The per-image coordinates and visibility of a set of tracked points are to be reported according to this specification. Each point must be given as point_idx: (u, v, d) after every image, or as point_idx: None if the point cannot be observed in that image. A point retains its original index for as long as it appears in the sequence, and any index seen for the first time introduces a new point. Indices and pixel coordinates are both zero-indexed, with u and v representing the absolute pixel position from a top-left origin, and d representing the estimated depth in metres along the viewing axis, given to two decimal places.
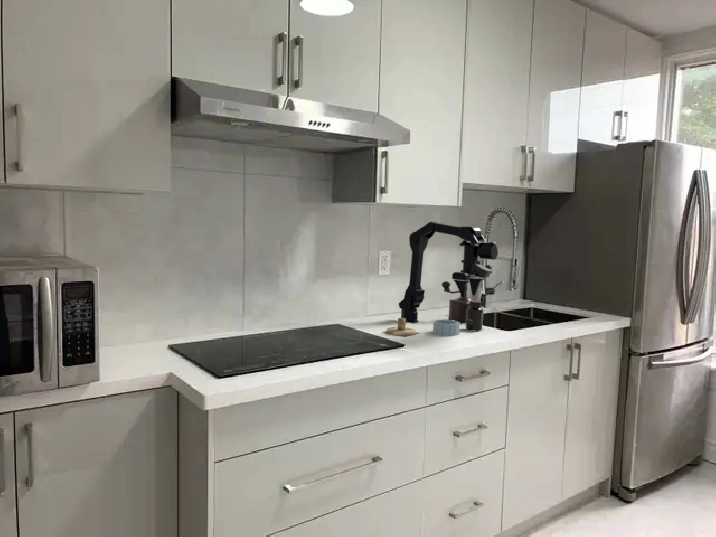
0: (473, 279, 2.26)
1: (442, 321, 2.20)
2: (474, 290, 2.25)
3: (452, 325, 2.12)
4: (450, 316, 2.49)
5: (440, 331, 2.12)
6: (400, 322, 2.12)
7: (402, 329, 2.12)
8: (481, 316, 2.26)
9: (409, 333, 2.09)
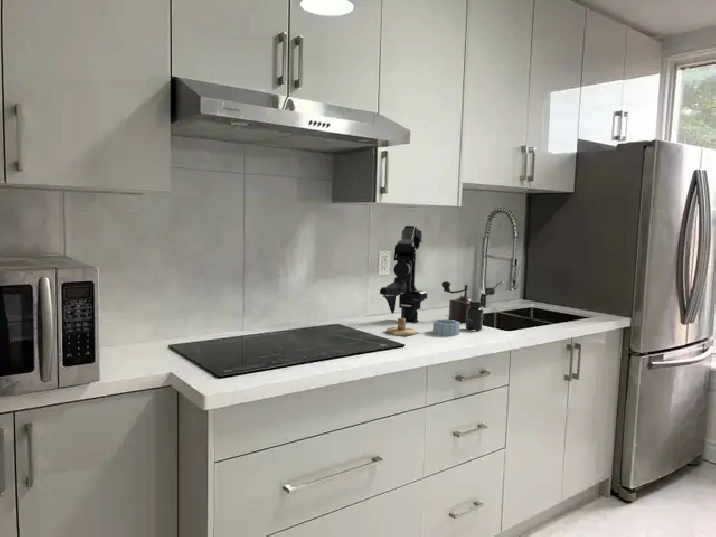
0: None
1: (442, 321, 2.20)
2: None
3: (452, 325, 2.12)
4: (450, 316, 2.49)
5: (440, 331, 2.12)
6: (400, 322, 2.12)
7: (402, 329, 2.12)
8: (481, 316, 2.26)
9: (409, 333, 2.09)
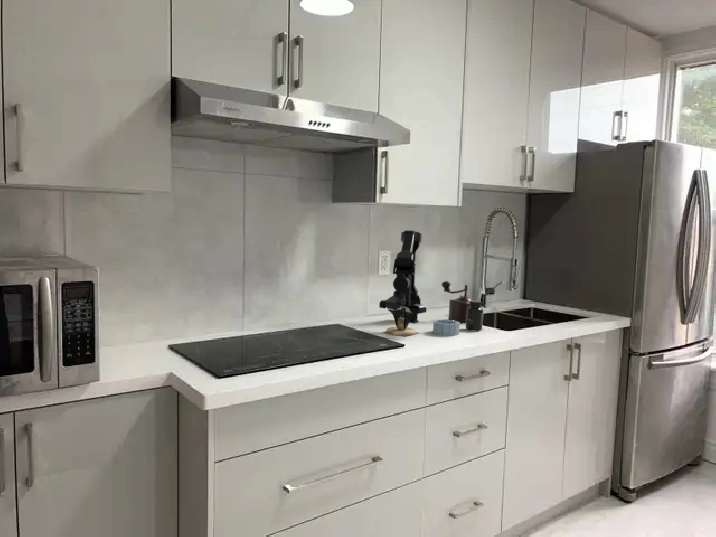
0: None
1: (442, 321, 2.20)
2: None
3: (452, 325, 2.12)
4: (450, 316, 2.49)
5: (440, 331, 2.12)
6: (400, 322, 2.12)
7: (402, 329, 2.12)
8: (481, 316, 2.26)
9: (409, 333, 2.09)
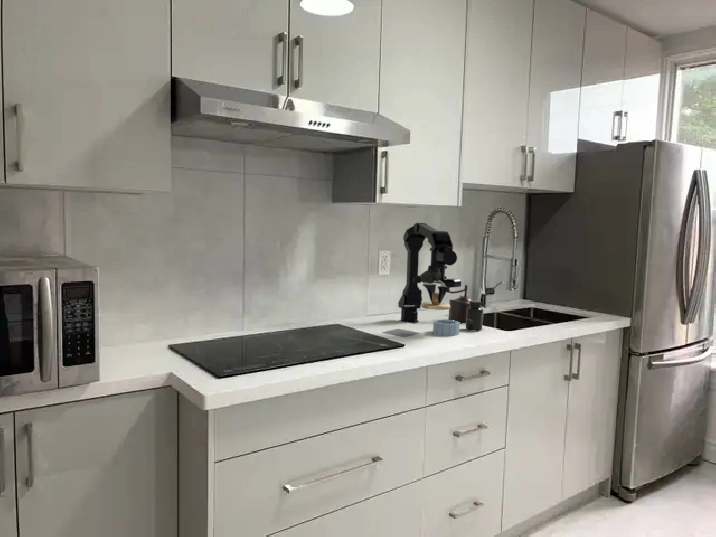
0: None
1: (442, 321, 2.20)
2: None
3: (452, 325, 2.12)
4: (450, 316, 2.49)
5: (440, 331, 2.12)
6: (434, 296, 2.13)
7: (436, 303, 2.13)
8: (481, 316, 2.26)
9: (444, 307, 2.10)
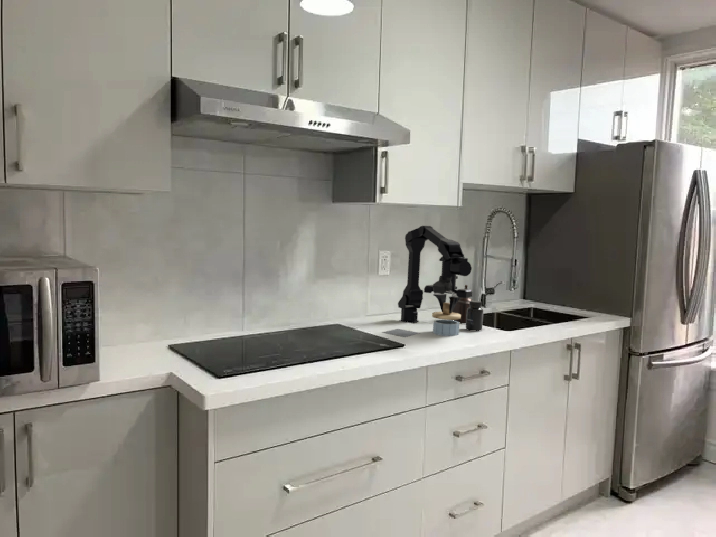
0: None
1: (442, 321, 2.20)
2: None
3: (452, 325, 2.12)
4: None
5: (440, 331, 2.12)
6: (445, 306, 2.14)
7: (447, 313, 2.14)
8: (481, 316, 2.26)
9: (455, 317, 2.11)
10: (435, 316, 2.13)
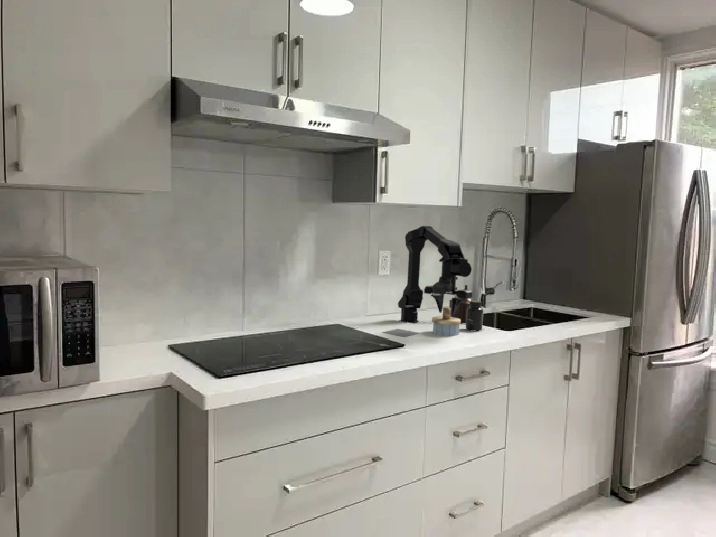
0: None
1: None
2: None
3: (452, 325, 2.12)
4: (450, 316, 2.49)
5: (440, 331, 2.12)
6: (445, 311, 2.14)
7: (447, 318, 2.15)
8: (481, 316, 2.26)
9: (455, 322, 2.11)
10: (435, 321, 2.13)
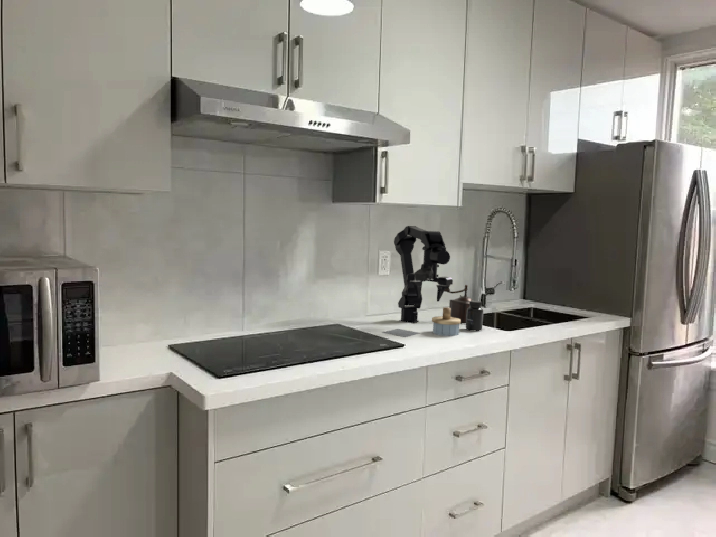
0: None
1: None
2: None
3: (452, 325, 2.12)
4: (450, 316, 2.49)
5: (440, 331, 2.12)
6: (445, 311, 2.14)
7: (447, 318, 2.15)
8: (481, 316, 2.26)
9: (455, 322, 2.11)
10: (435, 321, 2.13)
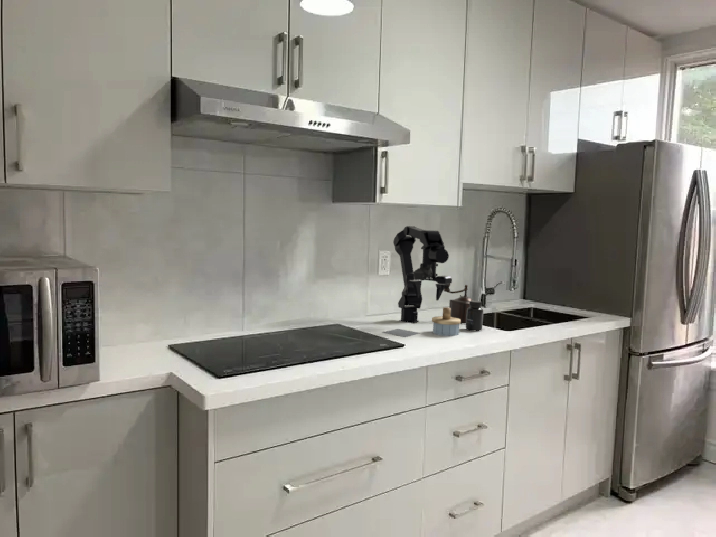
0: None
1: None
2: None
3: (452, 325, 2.12)
4: (450, 316, 2.49)
5: (440, 331, 2.12)
6: (445, 311, 2.14)
7: (447, 318, 2.15)
8: (481, 316, 2.26)
9: (455, 322, 2.11)
10: (435, 321, 2.13)
